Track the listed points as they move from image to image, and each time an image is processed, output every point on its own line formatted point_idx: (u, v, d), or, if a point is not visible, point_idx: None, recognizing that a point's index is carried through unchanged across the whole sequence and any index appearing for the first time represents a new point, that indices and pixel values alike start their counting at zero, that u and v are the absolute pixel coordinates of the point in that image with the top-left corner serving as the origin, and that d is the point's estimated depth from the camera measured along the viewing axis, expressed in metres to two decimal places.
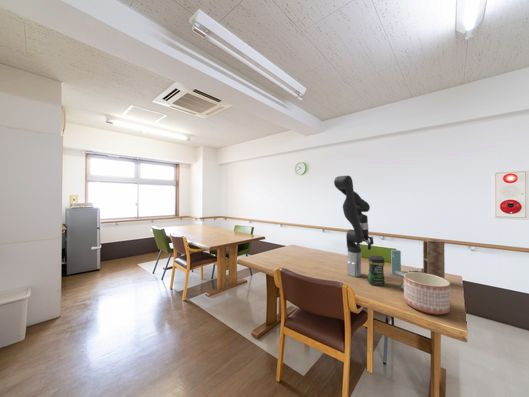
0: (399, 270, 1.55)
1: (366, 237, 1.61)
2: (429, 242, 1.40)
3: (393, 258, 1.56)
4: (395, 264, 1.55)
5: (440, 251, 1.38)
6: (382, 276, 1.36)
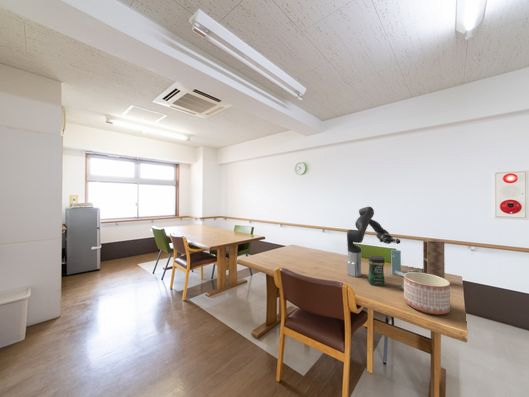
0: (399, 270, 1.55)
1: (392, 238, 1.75)
2: (429, 242, 1.40)
3: (393, 258, 1.56)
4: (395, 264, 1.55)
5: (440, 251, 1.38)
6: (382, 276, 1.36)
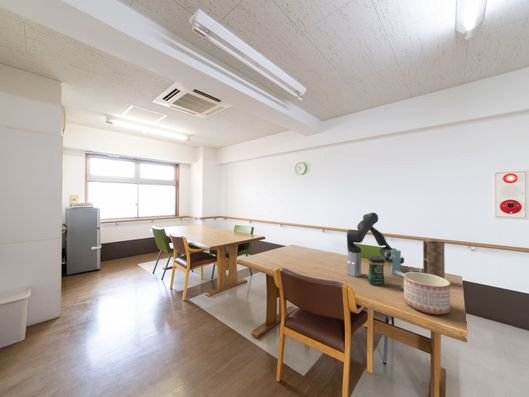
0: (399, 270, 1.55)
1: None
2: (429, 242, 1.40)
3: (393, 258, 1.56)
4: (395, 264, 1.55)
5: (440, 251, 1.38)
6: (382, 276, 1.36)
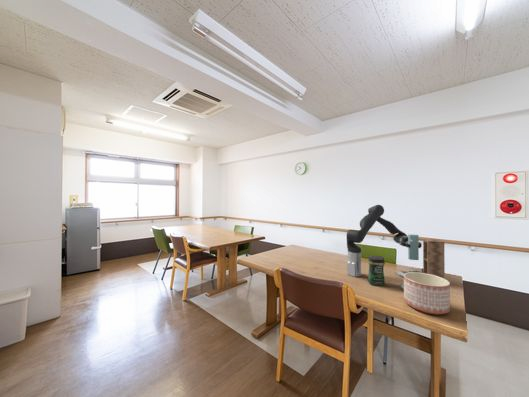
0: (417, 255, 1.52)
1: None
2: (429, 242, 1.40)
3: (411, 243, 1.53)
4: (413, 248, 1.52)
5: (440, 251, 1.38)
6: (382, 276, 1.36)
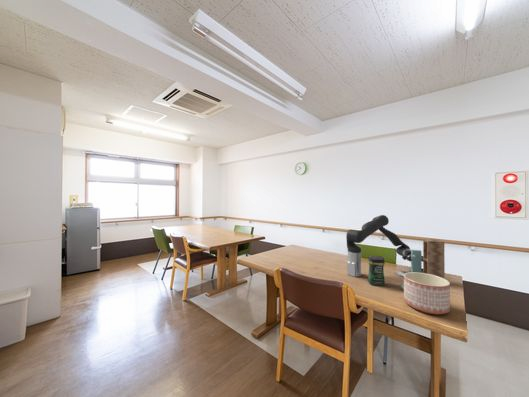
0: (420, 270, 1.51)
1: None
2: (429, 242, 1.40)
3: (413, 258, 1.52)
4: (416, 264, 1.51)
5: (440, 251, 1.38)
6: (382, 276, 1.36)
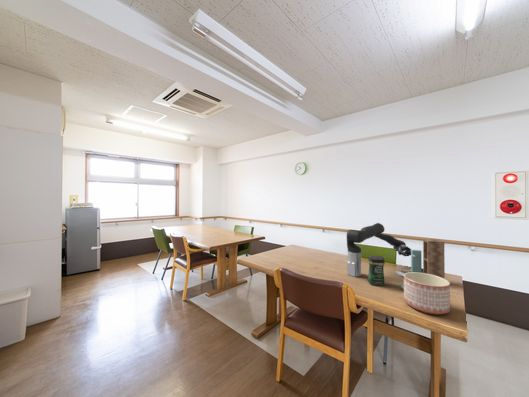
0: (420, 270, 1.51)
1: None
2: (429, 242, 1.40)
3: (413, 258, 1.52)
4: (416, 264, 1.51)
5: (440, 251, 1.38)
6: (382, 276, 1.36)
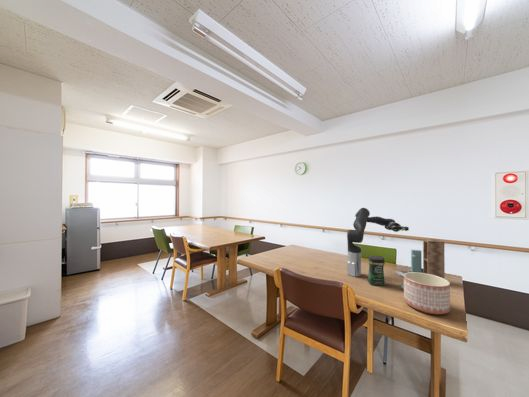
0: (420, 270, 1.51)
1: None
2: (429, 242, 1.40)
3: (413, 258, 1.52)
4: (416, 264, 1.51)
5: (440, 251, 1.38)
6: (382, 276, 1.36)
